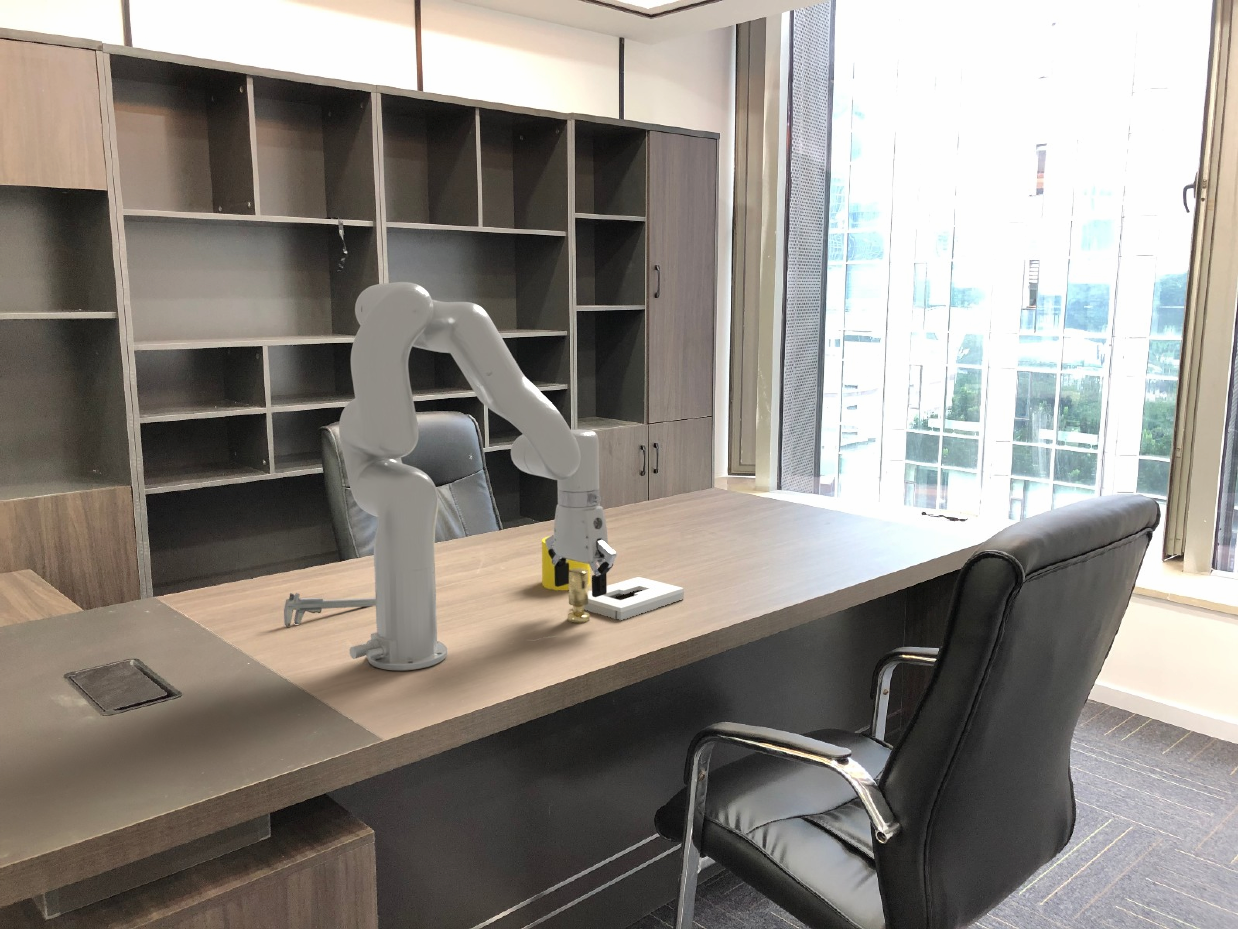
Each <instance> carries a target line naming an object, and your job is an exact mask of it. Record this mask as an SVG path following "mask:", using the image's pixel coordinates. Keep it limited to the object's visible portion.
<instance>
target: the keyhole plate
mask: <svg viewBox="0 0 1238 929" xmlns="http://www.w3.org/2000/svg"><path fill="white" fill-rule="evenodd" d="M640 590H642V591H640ZM684 590H685V589H684V587H681V586H676V585H673V584H669V583H666V582H661V581H657V580H652V579H649V578H646V577H645V578H644V577H641V576H637V577H633V578H629V579H626V580H625V579H624V580H621V581H620V582H616V583H611V584H607V593H606V594H604V595H601V596H598V597H593V596H592V589H591V590H588V604H587V605H584V609H585V610H584V611H587V610H588V611H587V612H591V613H594V614H597V613H598V614H597V615H600V614H601V615H602V616H604V617H607V616H608V617H607V618H610V617H611V618H612V619H614V620H616V619H619V620H618V621H621V620H622V621H624V620H623V619H625V620H627V618H628V619H631V618H633V617H632V616H634V617H636V615H637V616H639V614H640V615H642V614H641V613H643V614H646V613H648V612H647V611H649V612H651V611H650V610H652V609H655V610H657V609H656V608H658V607H660V606H664V607H666V606H665V605H667V604H669V603H672V602H676V601H678V600H680V599H685V598H684V593H685V592H684ZM633 591H634V592H633ZM637 591H638V592H637ZM630 592H631V593H633V596H630V597H627V598H624V599H617V597H620V596H623V594H624V595H627V594H630ZM616 596H617V597H616ZM676 603H677V602H676ZM667 606H668V605H667ZM658 609H659V608H658ZM652 611H653V610H652ZM645 612H646V613H645ZM630 617H631V618H630Z"/></svg>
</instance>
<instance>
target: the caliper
mask: <svg viewBox="0 0 1238 929" xmlns="http://www.w3.org/2000/svg"><path fill="white" fill-rule="evenodd" d="M374 606H375V607H376V597H363V598H342V599H341V598H339V599H324V598H322V597H305V598H303V597H302V598H300V593H297V592H296V593H295V594H294V593H291V592H290V593H289V598H288V599H287V598H286V599H285V603H284V608H283V621H284V626H285V625H286V626H285V627H287V626H290V627H291V623H292V619H294V620H293V621H294V622H293V624H294V623H295V624H301V622H302V620H303V617H304V615H305V612H308V613H311V614H315V613H316V614H317V613H318V614H321V613H322V610H323V609H325V610H326V609H342V608H343V609H345V608H362V607H363V608H364V607H367V608H369V607H374ZM294 610H295V614H294ZM293 614H294V618H292V617H293Z"/></svg>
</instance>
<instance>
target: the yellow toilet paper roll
mask: <svg viewBox="0 0 1238 929" xmlns="http://www.w3.org/2000/svg"><path fill="white" fill-rule="evenodd" d="M550 536H551V535H550ZM550 536H549V535H548V536H545V537H544V538H542V539H541V580H542V581H541V582H542V584H541V585H542V587H543V586H544V587H543V588H545V589H548V590H551V589H554V590H553V591H558V590H569V584H566V585H563V586H560V587H556V586H555V572H554V566H555V565H553V564H552V559H551V557H550V555H549V554H548V550H549V549H548V548H547V545H546V543H545V539H546V538H548V537H550ZM566 563H569V570H571V569H586V570H588V587H590V586H591V567H590V565H589V564H586V563H582V562H577V561H573V560H569V559H568V560H567V561H566ZM589 585H590V586H589Z"/></svg>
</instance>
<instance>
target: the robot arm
mask: <svg viewBox="0 0 1238 929" xmlns="http://www.w3.org/2000/svg"><path fill="white" fill-rule="evenodd" d="M354 311H355V312H354V314H355V318H356V320H357V323H358V324H359V325H360V326H359V328H358V331H357V333H356V335H355V337H354V340H353V343H352V348H351V351H350V371H351V380H352V384H353V385H352V386H353V393H354V399H352V400H350V401H349V402H348V403H347V404H346V405H345V407H343V408H344V409H343V410H342V412H341V415H340V418H339V424H338V426H339V427H338V434H339V440H340V446H341V451H342V456H343V461H344V465H345V472H346V476H347V479H348V485H349V487H350V492H351V495H352V497H353V500H354V501H355V503H356V504H357V506H358V507H359V509H361V510H362V511H364V512H365V513H367V514H369V515H371V516H374V517H376V518H377V523H376V530H375V536H374V540H373V541H374V542H373V567H374V588H375V589H374V590H375V591H374V592H375V594H374V595H375V598H376V605H375V616H376V617H375V618H376V620H375V621H376V622H375V623H376V632H373V633H370V640H367V641H366V642H365V643H364V644H363V643H362V644H357V645H353V646H351V647H350V648H349V654H350V655H349V656H350V657H351V659H353V660H355V659H358V658H362V657H366V658H367V661H368V663H369V664H370V665H371V666H373V667H375V668H378V669H382V670H387V671H411V670H412V671H413V670H419V669H425V668H428V667H431V666H434V665H437V664H439V663H441V662H442V661H444V659H446V657H447V655H448V648H447V645H445V643H443V642H442V641H439V640H438V625H437V624H438V623H437V621H438V620H437V594H436V593H437V588H436V586H437V584H436V560H435V559H436V556H435V553H436V552H435V550H436V549H435V547H436V546H435V542H436V541H435V540H436V539H435V536H436V535H435V534H436V525H437V524H436V523H437V518H438V511H439V494H438V489H437V487H436V485H435V483H434V481H433V480H432V478H431V477H430V476H429V475H428V474H427V473H425V472H424V471H423V470H421V469H419V468H417V467H416V466H415V467H414V466H412V465H408V464H405V463H403V461H402V458H403V457H406V456H408V455H410V454H411V453H412V452H413V451H414V449H416V446H417V444H418V441H419V436H420V435H419V434H420V433H419V423H418V418H417V413H416V408H415V403H414V398H413V397H414V396H413V392H412V386H411V381H410V372H409V358H410V353H411V350H412V348H413V347H414V348H418V349H423V350H427V351H432V352H438V353H447V354H450V355H451V357H452V358H453V360H454V361H455V363H456V365H457V366H458V368H459V369H460V370H461V373H462V374H463V375H464V377H465V379H466V381H467V382H468V384H469V385H470V387H471V389H472V390H473V392H474V394H475V395H476V397H477V399H478V400H479V401H480V402H481V403H482V404H483V405H484V406H486V408H488V409H489V410H490V411H492V412H493V413H495V414H497V415H498V416H500V417H501V418H503V419H505V420H506V421H507V422H509V423H511V425H513V426H514V427H515V428H516V429H517V430H518V431H519V432H520V433H522V434H521V435H519V436H517V438H516V439H515V440H514V441H513V443H512V444H511V447H510V457H511V461H512V462H513V465H514V466H515V467H517V469H519V470H520V471H521V472H524V473H527V474H529V475H533V476H537V477H542V478H547V479H551V480H554V481H557V504H556V507H555V514H554V515H555V516H554V524H553V525H554V526H553V534H552V535H550V537H549V536H547V537H548V538H546V539H545V543H546V545H547V548H548V549H549V550H548V554H549V555H550V557H551V559H552V564H553V565H555V566H554V572H555V586H556V587H560V586H563V585H566V584H569V563H566V561H567V560H568V559H569V560H573V561H577V562H582V563H586V564H589V565H590V570H591V571H592V573H593V575H591V590H592V596H593V597H598V596H601V595H604V594H606V593H607V586H608V581H607V580H608V579H607V574H609V573H610V570H611V569H612V568H613V566H614V563H615V561H616V557H617V552H616V551H615V550H614V549H612V548H611V547H610V546H609V540H608V529H607V528H608V527H607V521H606V516H605V511H604V507H603V506H601V504H600V503H601V502H602V496H601V495H600V448H599V446H600V442H599V436H598V434H597V432H595V431H594V430H592V429H591V430H590V429H581V428H580V429H579V428H578V429H571V428H570V426H569V425H568V423H567V422H566V420H565V419H564V416H563V415H562V414H561V412H560V411H559V410H558V409H557V407H556V406H555V405H554V404H553V402H551V401H550V400H549V399H548V398H547V397H546V396H545V395H544V394H543V393H542V392H541V391H540V389H538V387H536V385H534V383H532V381H530V379H528V378H527V377H526V376H525V374H524V373H523V372H522V370H521V368H520V366H519V364H518V363H517V361H516V360H515V358H514V357H513V355H512V353H511V352H510V350H509V348H508V346H507V344H506V343H505V341H504V339H503V337H502V336H501V333H499V330H498V329H497V326H496V325H495V324H494V322H493V320H492V319H491V317H490V316H489V314H488V312H487V311H486V310H485V309H484V308H483V307H482V306H480V304H479V305H478V304H477V303H473V302H470V301H448V302H447V301H439V300H436V299H432V296H431V295H430V293H429V292H428V291H427V290H426V289H425V288H424V287H423V286H421V285H419V284H417V283H414V282H410V281H399V282H398V281H397V282H390V283H378V284H374V285H371V286H368V287H367V288H365V289H364V290H363V291H361V292H360V294H359V296H358V297H357V298H356V302H355V305H354ZM597 563H598V564H597ZM598 565H599V566H598Z"/></svg>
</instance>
